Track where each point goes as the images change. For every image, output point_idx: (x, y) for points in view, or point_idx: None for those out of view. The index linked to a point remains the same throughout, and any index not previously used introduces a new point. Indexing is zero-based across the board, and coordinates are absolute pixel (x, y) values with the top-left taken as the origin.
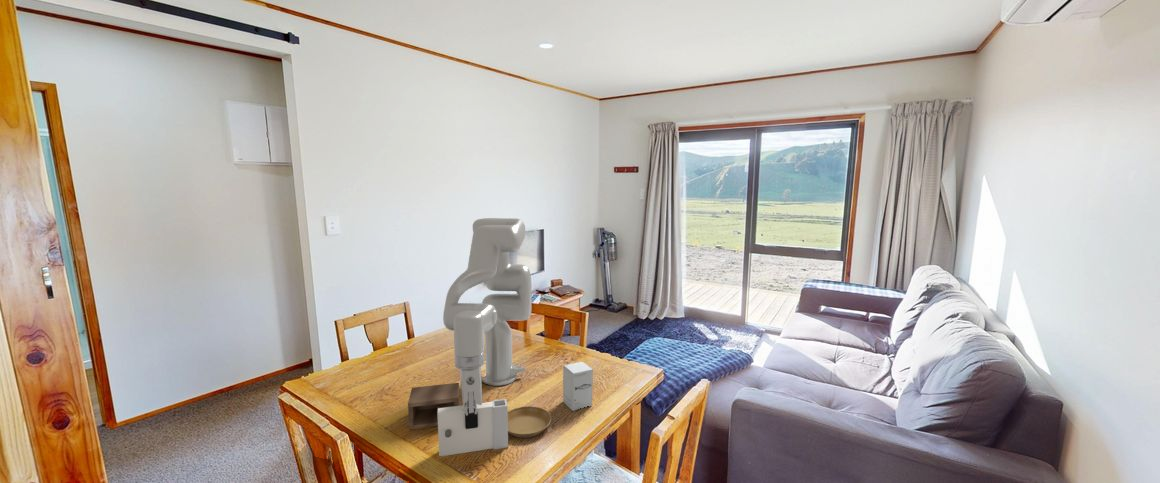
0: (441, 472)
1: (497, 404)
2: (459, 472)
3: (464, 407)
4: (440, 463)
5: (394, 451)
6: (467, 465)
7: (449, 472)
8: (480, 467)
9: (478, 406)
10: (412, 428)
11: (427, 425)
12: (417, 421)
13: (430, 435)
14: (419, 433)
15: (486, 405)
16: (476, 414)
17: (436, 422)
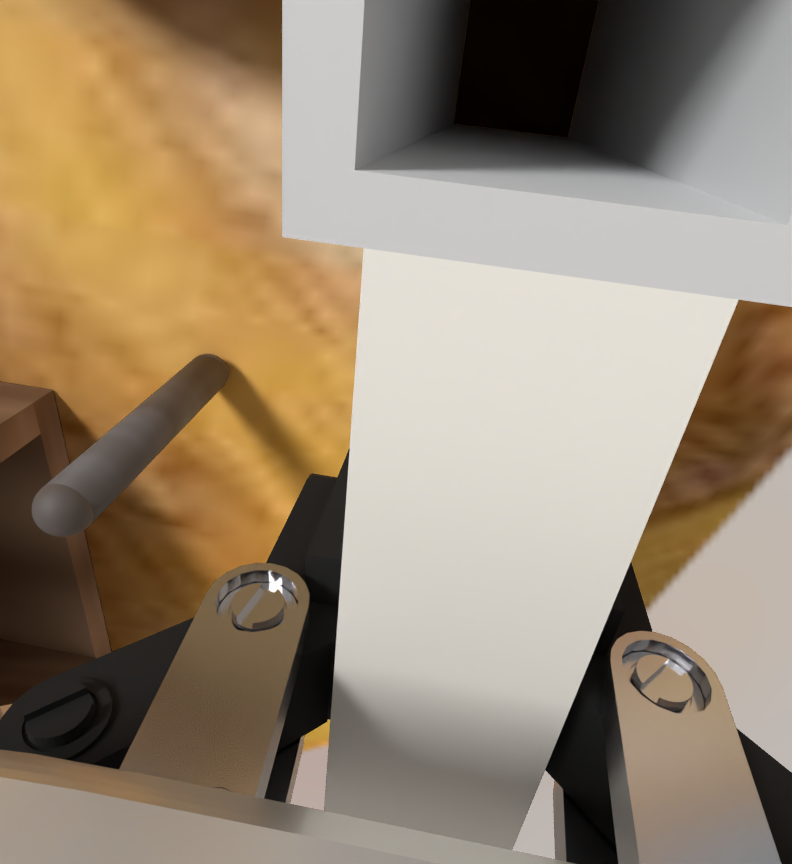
0: (654, 587)
1: (391, 24)
2: (735, 496)
3: (416, 815)
4: None
5: (316, 730)
6: (684, 432)
7: (688, 549)
8: (786, 343)
9: (502, 643)
10: (106, 647)
11: (88, 587)
12: (47, 635)
13: (197, 578)
14: (162, 622)
15: (544, 470)
16: (692, 654)
17: (66, 549)
